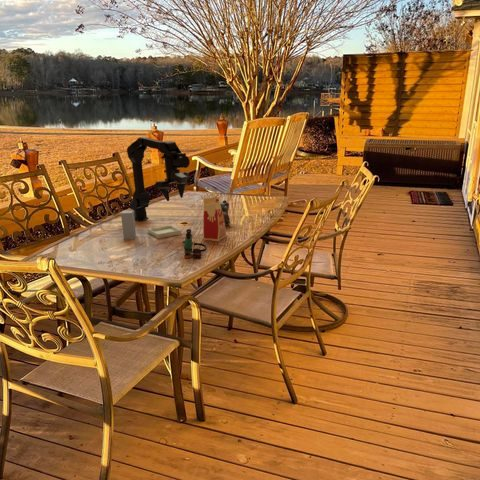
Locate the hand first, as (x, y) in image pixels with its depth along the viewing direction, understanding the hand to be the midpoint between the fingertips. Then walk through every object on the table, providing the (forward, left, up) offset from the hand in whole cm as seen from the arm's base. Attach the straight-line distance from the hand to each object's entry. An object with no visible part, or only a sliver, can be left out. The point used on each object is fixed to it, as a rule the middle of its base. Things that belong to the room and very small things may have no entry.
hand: (174, 199), depth 226 cm
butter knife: (+27, -42, -15) cm, 52 cm away
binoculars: (+35, -30, -15) cm, 48 cm away
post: (-8, -25, -14) cm, 30 cm away
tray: (+2, -12, -14) cm, 19 cm away
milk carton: (+27, -6, -15) cm, 31 cm away
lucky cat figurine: (+15, +13, -15) cm, 25 cm away
